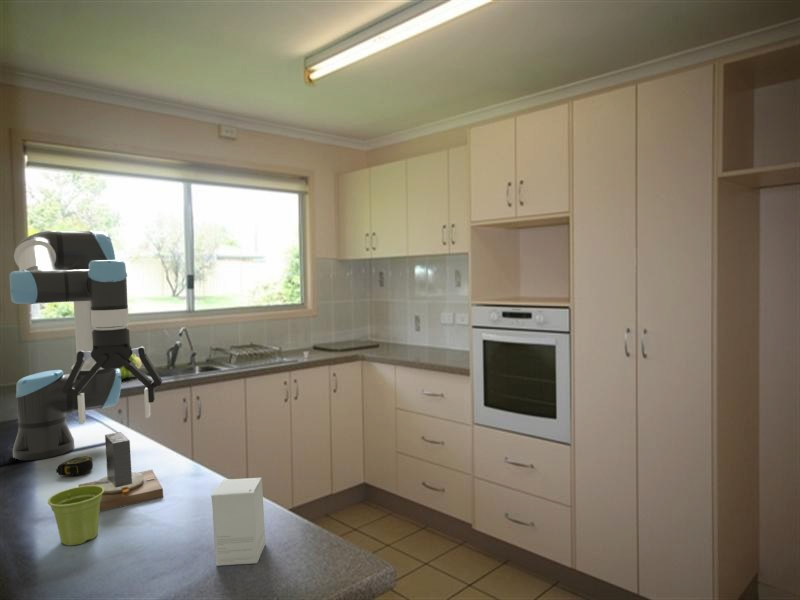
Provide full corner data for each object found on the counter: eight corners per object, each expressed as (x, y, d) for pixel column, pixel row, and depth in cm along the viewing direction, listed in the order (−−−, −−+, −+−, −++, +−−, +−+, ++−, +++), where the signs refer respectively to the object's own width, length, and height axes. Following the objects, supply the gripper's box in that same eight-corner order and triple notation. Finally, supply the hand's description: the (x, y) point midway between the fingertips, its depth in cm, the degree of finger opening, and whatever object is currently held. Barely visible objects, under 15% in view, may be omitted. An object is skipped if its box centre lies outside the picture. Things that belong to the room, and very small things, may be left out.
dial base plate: (78, 492, 128) (78, 483, 128) (152, 477, 137) (152, 468, 137) (82, 515, 116) (81, 505, 115) (163, 497, 124) (162, 487, 124)
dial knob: (137, 473, 133) (135, 428, 133) (150, 487, 124) (147, 439, 124) (91, 484, 127) (88, 437, 126) (100, 499, 118) (97, 448, 117)
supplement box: (266, 543, 101) (263, 476, 101) (257, 564, 94) (254, 492, 93) (226, 545, 101) (223, 478, 100) (214, 566, 94) (210, 494, 93)
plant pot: (42, 554, 100) (39, 507, 99) (60, 531, 109) (57, 488, 108) (99, 546, 102) (96, 500, 102) (111, 524, 111) (109, 482, 111)
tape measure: (76, 468, 145) (75, 455, 145) (99, 469, 144) (98, 455, 144) (56, 478, 139) (55, 464, 139) (79, 479, 138) (78, 464, 137)
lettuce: (147, 379, 275) (148, 344, 278) (97, 381, 258) (98, 343, 261) (131, 381, 288) (132, 346, 291) (82, 382, 271) (84, 346, 273)
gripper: (171, 323, 132) (175, 409, 133) (53, 329, 124) (58, 420, 125) (168, 326, 124) (172, 417, 126) (42, 332, 117) (48, 430, 118)
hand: (115, 419), depth 126 cm, fingers open, 13 cm apart
